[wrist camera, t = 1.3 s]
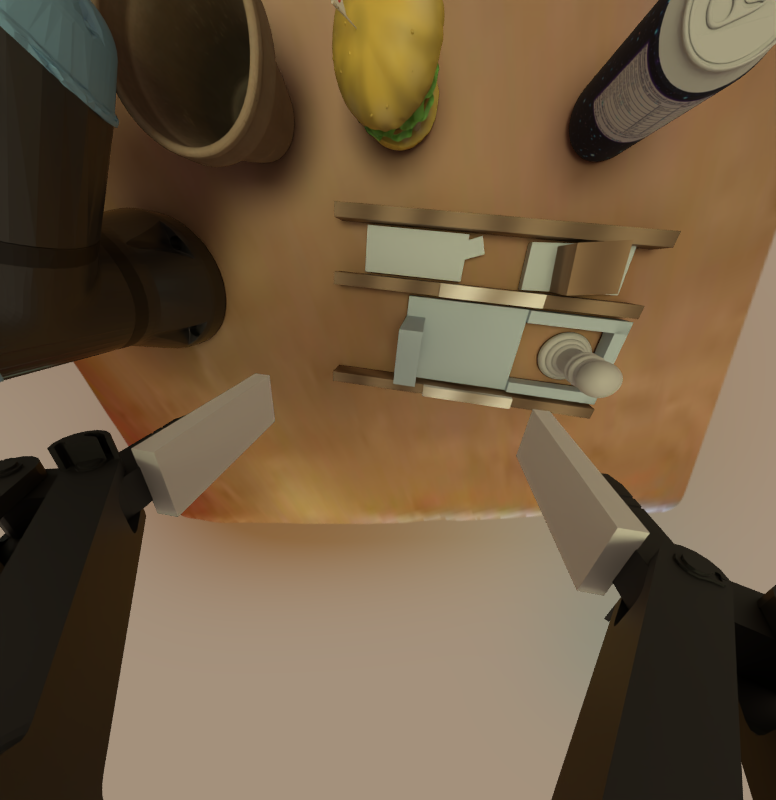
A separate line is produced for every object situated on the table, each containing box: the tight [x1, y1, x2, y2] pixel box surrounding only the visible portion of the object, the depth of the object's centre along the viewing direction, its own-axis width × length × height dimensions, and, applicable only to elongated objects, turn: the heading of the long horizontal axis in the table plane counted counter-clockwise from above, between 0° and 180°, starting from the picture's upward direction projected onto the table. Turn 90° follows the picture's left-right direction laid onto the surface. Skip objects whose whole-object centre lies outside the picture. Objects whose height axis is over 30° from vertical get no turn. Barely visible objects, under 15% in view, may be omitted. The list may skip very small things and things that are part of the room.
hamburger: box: [331, 0, 444, 150], centre depth 19 cm, size 8×7×12 cm
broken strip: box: [365, 225, 637, 295], centre depth 28 cm, size 25×5×1 cm, turn 84°
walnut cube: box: [549, 240, 633, 296], centre depth 25 cm, size 4×4×4 cm
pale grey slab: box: [393, 295, 633, 405], centre depth 27 cm, size 22×9×9 cm, turn 84°
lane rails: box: [333, 201, 681, 419], centre depth 29 cm, size 30×18×3 cm, turn 84°
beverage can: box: [569, 0, 776, 162], centre depth 17 cm, size 6×6×12 cm
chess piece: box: [538, 332, 623, 398], centre depth 27 cm, size 5×5×9 cm
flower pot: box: [91, 0, 294, 167], centre depth 21 cm, size 12×11×10 cm
